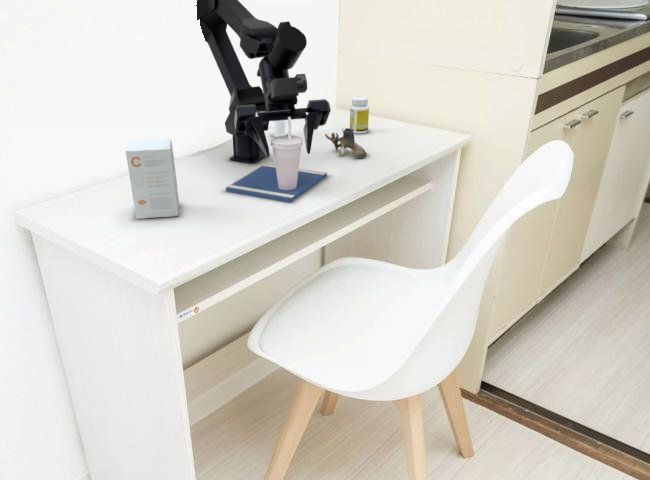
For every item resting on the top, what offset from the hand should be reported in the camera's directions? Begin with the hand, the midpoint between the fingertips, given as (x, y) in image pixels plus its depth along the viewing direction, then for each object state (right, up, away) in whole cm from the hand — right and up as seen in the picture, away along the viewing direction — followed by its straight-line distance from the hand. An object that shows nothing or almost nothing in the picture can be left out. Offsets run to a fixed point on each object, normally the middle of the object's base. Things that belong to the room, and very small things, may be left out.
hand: (288, 154), depth 127 cm
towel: (-2, -4, +9) cm, 10 cm away
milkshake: (-2, +15, +39) cm, 42 cm away
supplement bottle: (+19, +17, +41) cm, 48 cm away
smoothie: (0, -5, +5) cm, 8 cm away
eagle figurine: (+14, +7, +25) cm, 30 cm away
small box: (-25, -12, -2) cm, 28 cm away
